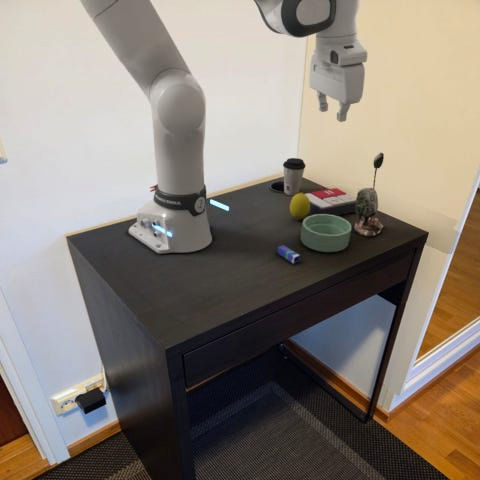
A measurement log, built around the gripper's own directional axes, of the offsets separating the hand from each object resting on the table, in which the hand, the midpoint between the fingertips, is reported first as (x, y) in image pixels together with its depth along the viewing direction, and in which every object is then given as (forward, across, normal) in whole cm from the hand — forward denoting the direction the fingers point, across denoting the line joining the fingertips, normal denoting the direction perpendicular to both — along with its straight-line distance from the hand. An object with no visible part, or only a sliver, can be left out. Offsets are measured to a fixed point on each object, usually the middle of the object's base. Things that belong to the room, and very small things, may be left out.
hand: (332, 115), depth 106 cm
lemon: (+28, -3, -7) cm, 29 cm away
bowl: (+28, +10, -6) cm, 30 cm away
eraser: (+27, +16, -18) cm, 36 cm away
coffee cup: (+28, -22, -1) cm, 36 cm away
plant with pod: (+29, +7, +8) cm, 31 cm away
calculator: (+29, -8, +4) cm, 30 cm away
